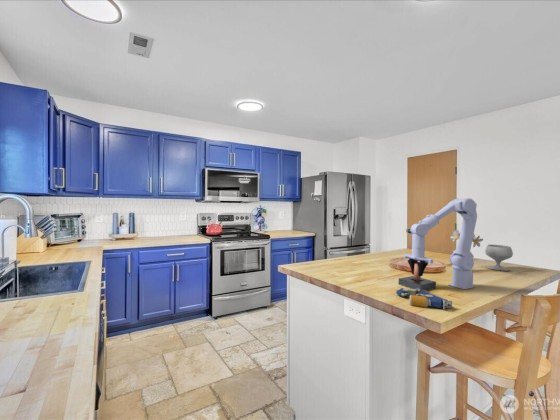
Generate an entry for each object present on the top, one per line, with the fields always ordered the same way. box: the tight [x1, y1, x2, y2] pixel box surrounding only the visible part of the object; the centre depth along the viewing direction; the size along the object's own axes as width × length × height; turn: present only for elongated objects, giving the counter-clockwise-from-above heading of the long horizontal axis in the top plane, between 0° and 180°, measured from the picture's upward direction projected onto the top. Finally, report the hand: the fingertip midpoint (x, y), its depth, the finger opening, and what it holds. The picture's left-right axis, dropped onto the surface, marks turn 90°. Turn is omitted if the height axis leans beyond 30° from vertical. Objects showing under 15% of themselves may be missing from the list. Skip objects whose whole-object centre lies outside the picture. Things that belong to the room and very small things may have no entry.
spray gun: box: [394, 287, 453, 310], centre depth 116 cm, size 21×4×15 cm
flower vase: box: [450, 229, 484, 256], centre depth 172 cm, size 13×18×25 cm
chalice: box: [484, 244, 514, 272], centre depth 179 cm, size 14×14×15 cm
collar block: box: [398, 275, 437, 291], centre depth 138 cm, size 12×12×3 cm
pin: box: [413, 263, 422, 281], centre depth 137 cm, size 3×3×8 cm
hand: (417, 275), depth 137 cm, fingers closed on pin, 3 cm apart
